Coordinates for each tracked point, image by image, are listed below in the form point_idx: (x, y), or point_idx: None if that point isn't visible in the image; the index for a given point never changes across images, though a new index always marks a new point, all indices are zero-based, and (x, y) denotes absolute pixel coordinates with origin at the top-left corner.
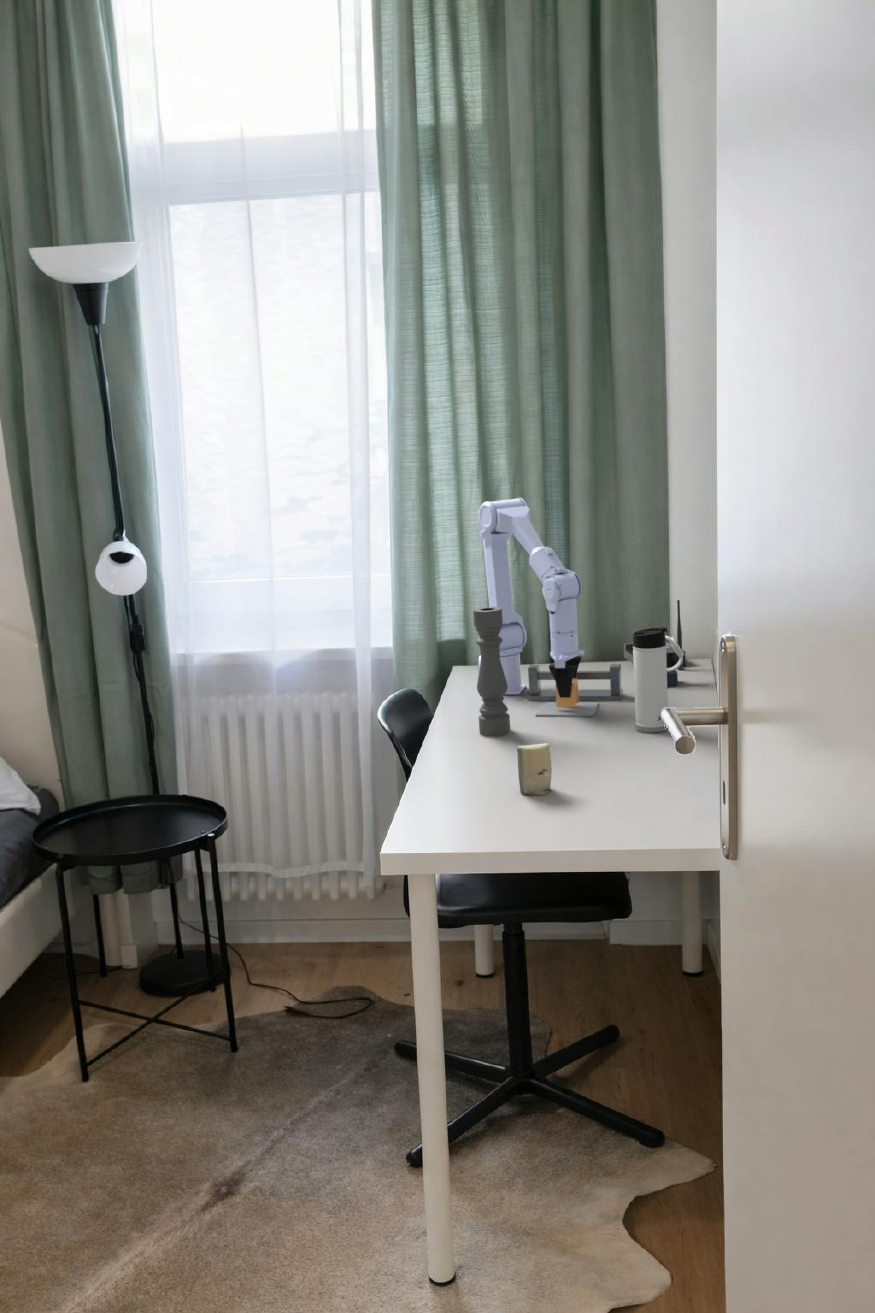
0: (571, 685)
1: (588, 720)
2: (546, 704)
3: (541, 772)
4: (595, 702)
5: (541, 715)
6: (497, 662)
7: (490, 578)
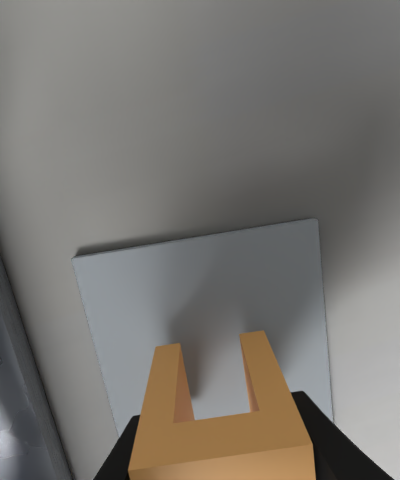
0: (333, 445)
1: (384, 218)
2: None
3: None
4: (77, 276)
5: None
6: None
7: None
